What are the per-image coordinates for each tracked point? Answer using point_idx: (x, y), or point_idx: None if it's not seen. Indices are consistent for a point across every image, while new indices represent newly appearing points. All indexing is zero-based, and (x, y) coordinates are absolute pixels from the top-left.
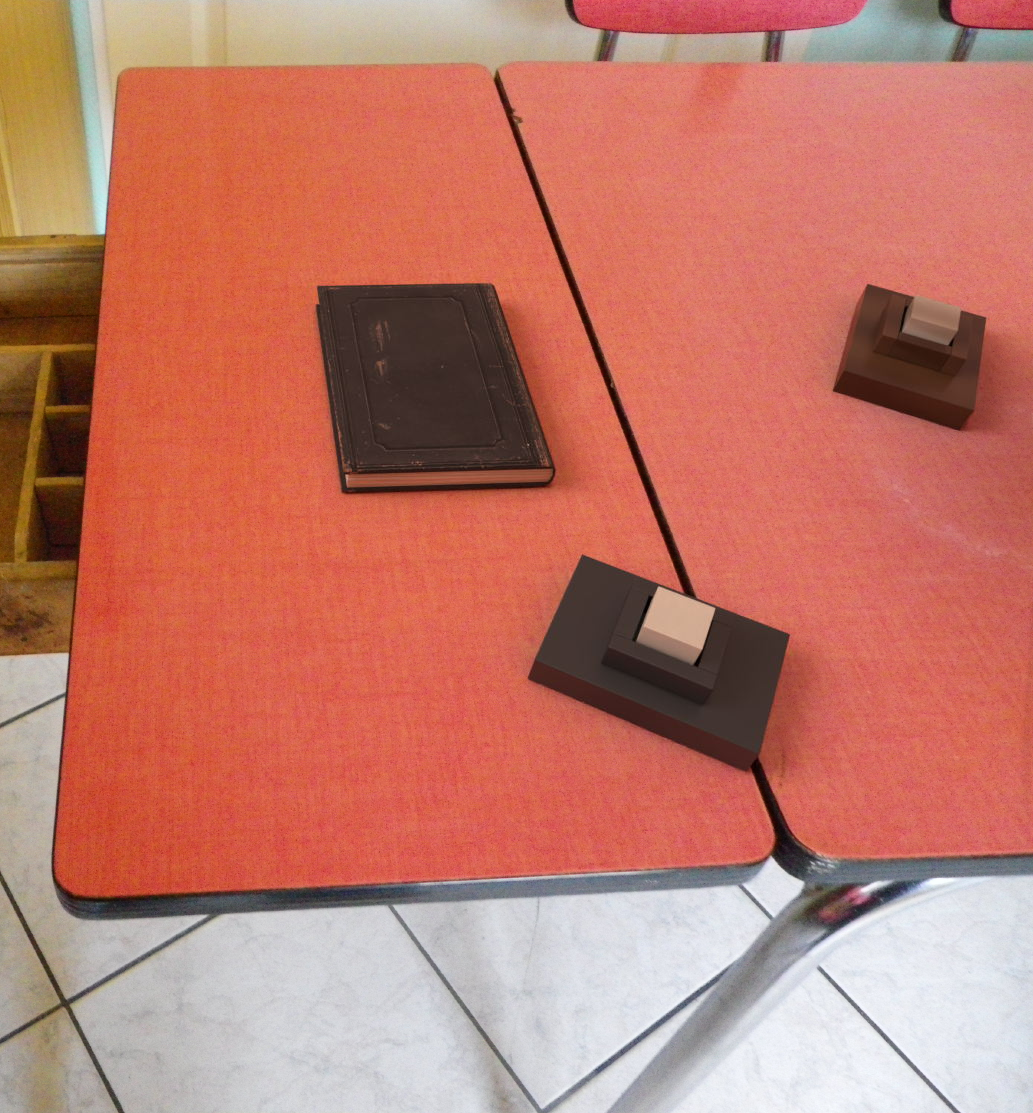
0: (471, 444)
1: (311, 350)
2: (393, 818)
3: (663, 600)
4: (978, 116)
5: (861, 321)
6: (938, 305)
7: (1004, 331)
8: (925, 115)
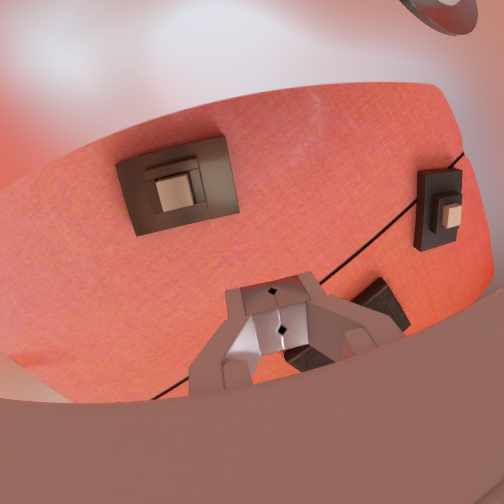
0: (387, 309)
1: None
2: (481, 240)
3: (451, 224)
4: None
5: (180, 223)
6: (165, 195)
7: (99, 149)
8: None
